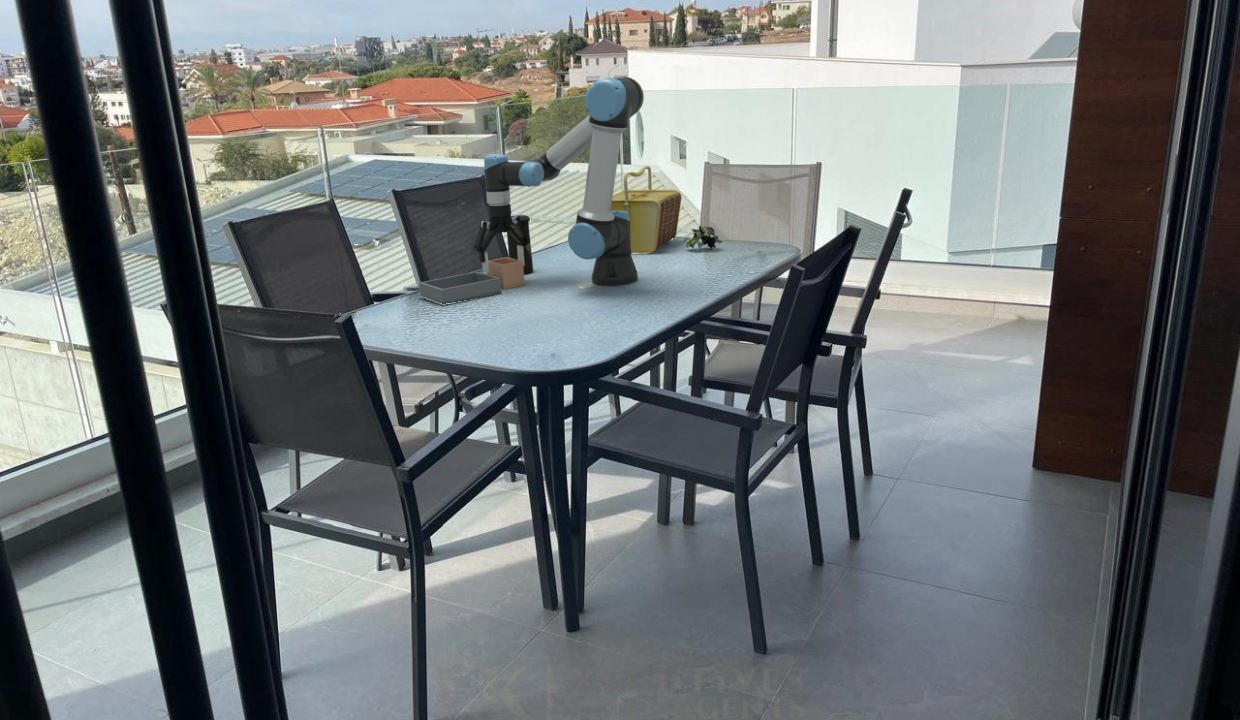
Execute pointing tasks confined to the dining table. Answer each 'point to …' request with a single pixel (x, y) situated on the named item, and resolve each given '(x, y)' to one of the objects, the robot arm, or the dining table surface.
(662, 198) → the picnic basket
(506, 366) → the dining table surface
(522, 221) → the container
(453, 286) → the grey tray
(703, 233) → the passion flower
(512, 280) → the small crate
